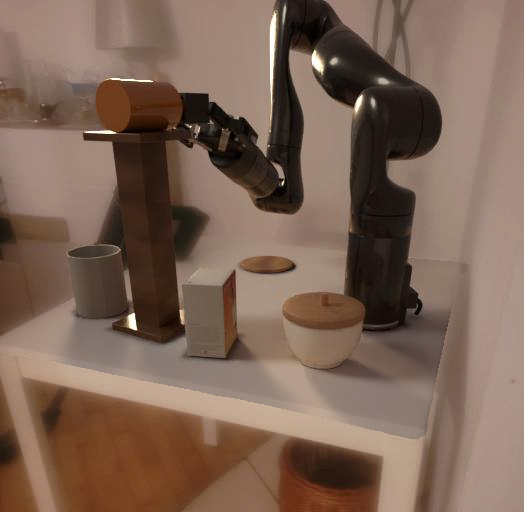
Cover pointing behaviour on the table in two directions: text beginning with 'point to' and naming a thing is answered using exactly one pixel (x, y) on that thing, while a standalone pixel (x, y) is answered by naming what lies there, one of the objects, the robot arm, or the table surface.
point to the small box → (210, 311)
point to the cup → (98, 280)
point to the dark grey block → (195, 108)
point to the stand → (147, 230)
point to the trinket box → (322, 327)
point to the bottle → (138, 105)
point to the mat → (267, 264)
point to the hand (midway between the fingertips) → (186, 107)
